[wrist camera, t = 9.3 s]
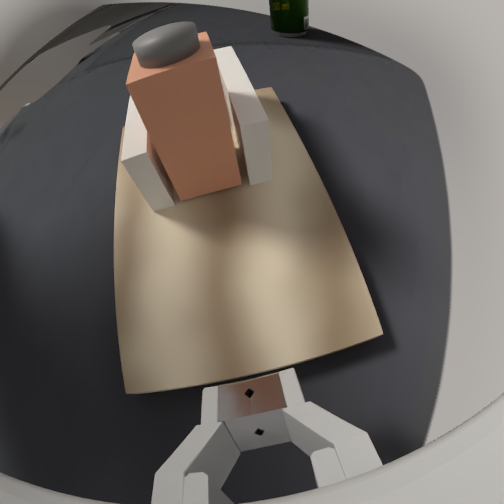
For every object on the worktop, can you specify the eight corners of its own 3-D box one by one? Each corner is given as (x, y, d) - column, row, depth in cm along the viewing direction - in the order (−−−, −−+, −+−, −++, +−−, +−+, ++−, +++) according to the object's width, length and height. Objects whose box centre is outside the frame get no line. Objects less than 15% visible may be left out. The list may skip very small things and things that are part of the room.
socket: (153, 211, 18) (121, 161, 14) (152, 116, 23) (134, 73, 19) (272, 179, 18) (268, 119, 14) (238, 93, 23) (231, 46, 19)
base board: (138, 394, 15) (125, 393, 13) (128, 138, 24) (122, 127, 23) (374, 338, 15) (383, 333, 13) (272, 99, 25) (271, 87, 23)
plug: (181, 201, 18) (116, 63, 9) (176, 158, 20) (127, 35, 11) (241, 184, 18) (211, 33, 9) (230, 144, 20) (202, 13, 11)
